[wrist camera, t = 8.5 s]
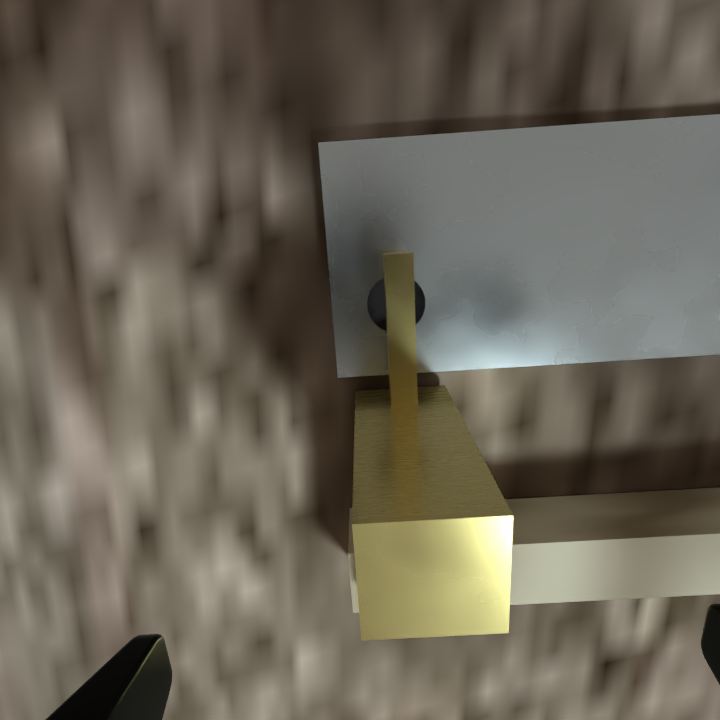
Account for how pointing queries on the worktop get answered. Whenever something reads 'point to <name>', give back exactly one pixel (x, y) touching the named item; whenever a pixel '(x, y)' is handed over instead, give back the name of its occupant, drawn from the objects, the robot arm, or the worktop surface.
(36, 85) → the worktop surface
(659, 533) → the trammel beam
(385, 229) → the bolt plate
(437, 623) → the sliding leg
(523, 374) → the worktop surface
